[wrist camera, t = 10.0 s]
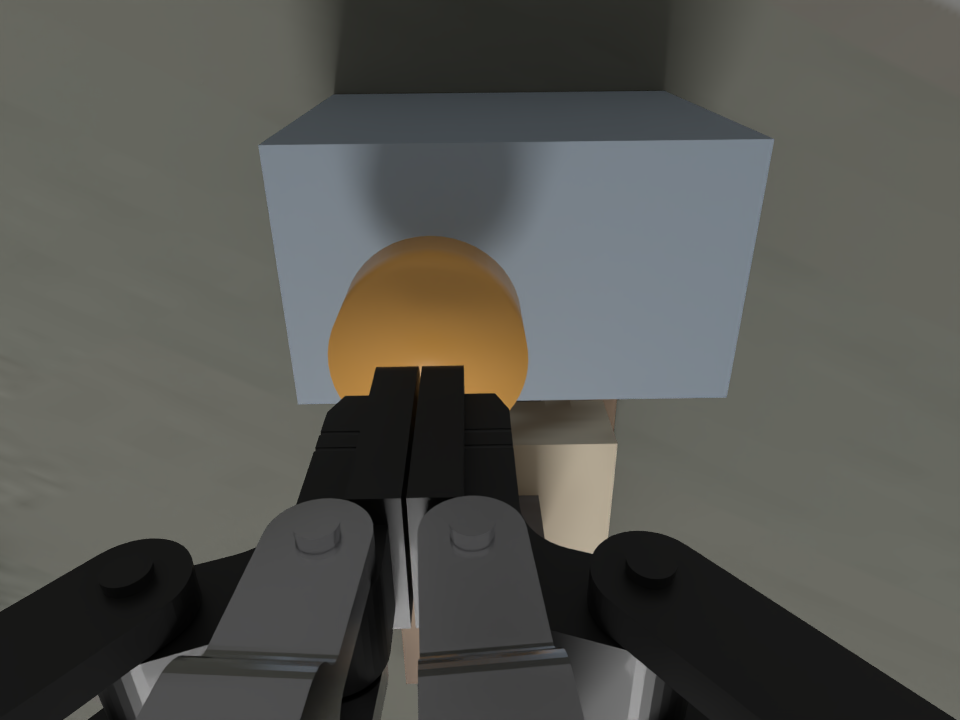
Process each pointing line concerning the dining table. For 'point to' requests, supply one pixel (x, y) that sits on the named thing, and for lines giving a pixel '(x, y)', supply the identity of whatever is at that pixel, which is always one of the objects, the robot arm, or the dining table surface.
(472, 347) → the button
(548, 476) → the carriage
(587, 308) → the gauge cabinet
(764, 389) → the dining table surface
